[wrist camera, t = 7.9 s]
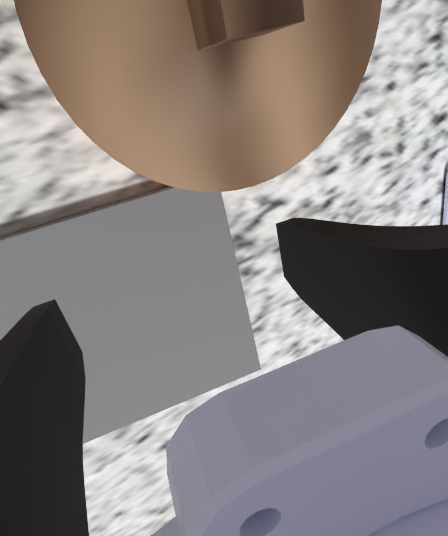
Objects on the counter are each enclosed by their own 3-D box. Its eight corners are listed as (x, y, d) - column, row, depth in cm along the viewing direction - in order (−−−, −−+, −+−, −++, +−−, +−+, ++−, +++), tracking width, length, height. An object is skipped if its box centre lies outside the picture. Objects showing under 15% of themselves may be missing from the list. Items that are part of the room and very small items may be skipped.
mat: (213, 172, 21) (216, 174, 21) (257, 364, 28) (260, 369, 28) (-66, 257, 19) (-71, 262, 18) (60, 446, 26) (59, 453, 25)
